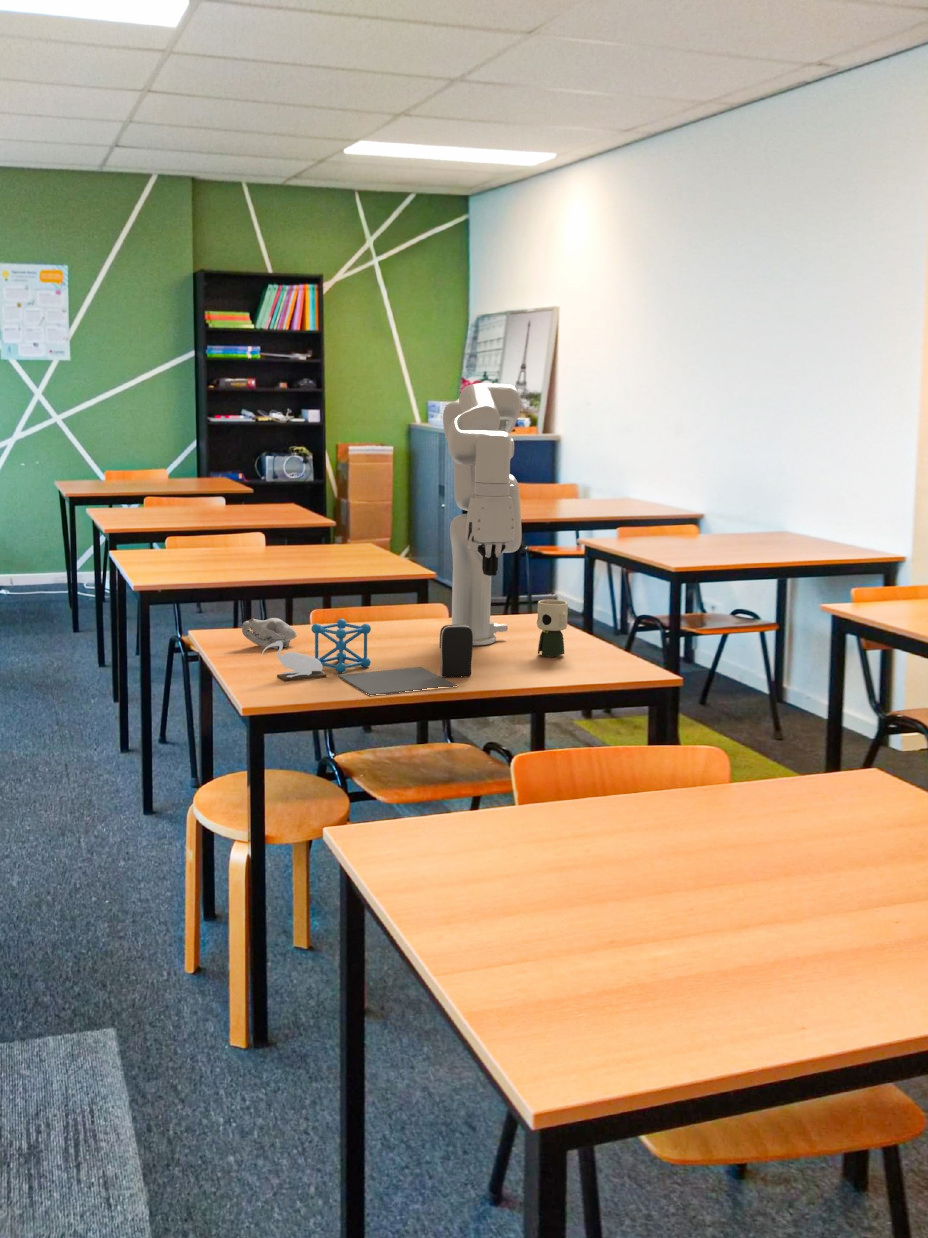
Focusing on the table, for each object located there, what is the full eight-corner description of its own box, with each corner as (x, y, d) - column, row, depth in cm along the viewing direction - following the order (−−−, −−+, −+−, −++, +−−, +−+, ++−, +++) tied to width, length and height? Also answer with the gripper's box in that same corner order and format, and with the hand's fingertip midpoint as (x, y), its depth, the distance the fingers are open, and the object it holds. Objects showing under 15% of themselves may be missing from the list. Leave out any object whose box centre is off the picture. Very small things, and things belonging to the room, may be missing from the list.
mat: (420, 668, 281) (420, 666, 281) (457, 687, 265) (457, 685, 265) (337, 676, 272) (337, 674, 272) (370, 696, 256) (370, 694, 256)
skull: (302, 637, 298) (265, 606, 292) (277, 665, 297) (240, 634, 292) (295, 629, 305) (259, 598, 300) (270, 656, 304) (234, 625, 299)
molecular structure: (309, 667, 280) (309, 623, 278) (341, 660, 287) (341, 617, 285) (340, 674, 274) (340, 630, 272) (372, 667, 281) (373, 623, 279)
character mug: (525, 652, 299) (527, 599, 296) (549, 650, 302) (551, 597, 300) (552, 662, 290) (554, 607, 287) (576, 659, 293) (579, 604, 291)
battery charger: (467, 673, 277) (469, 622, 275) (472, 677, 274) (473, 626, 272) (437, 674, 276) (438, 623, 273) (441, 678, 272) (442, 627, 270)
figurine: (265, 684, 264) (264, 644, 263) (258, 680, 268) (257, 640, 266) (327, 678, 271) (326, 638, 269) (319, 673, 275) (318, 635, 273)
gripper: (513, 488, 277) (511, 570, 280) (453, 489, 270) (451, 574, 274) (530, 491, 270) (527, 575, 274) (469, 492, 264) (467, 579, 267)
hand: (489, 574), depth 274 cm, fingers closed
